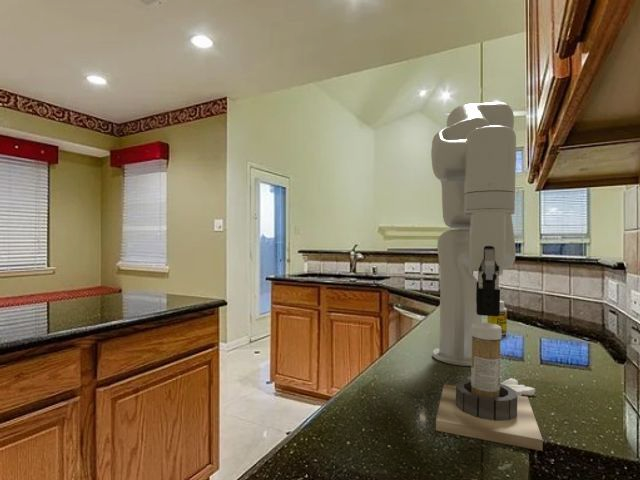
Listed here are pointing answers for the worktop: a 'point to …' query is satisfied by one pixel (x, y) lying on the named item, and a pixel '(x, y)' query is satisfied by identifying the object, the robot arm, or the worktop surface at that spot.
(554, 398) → the worktop surface
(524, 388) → the acanthus leaf ornament
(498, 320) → the supplement bottle
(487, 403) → the socket board
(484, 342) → the sprinkles bottle
